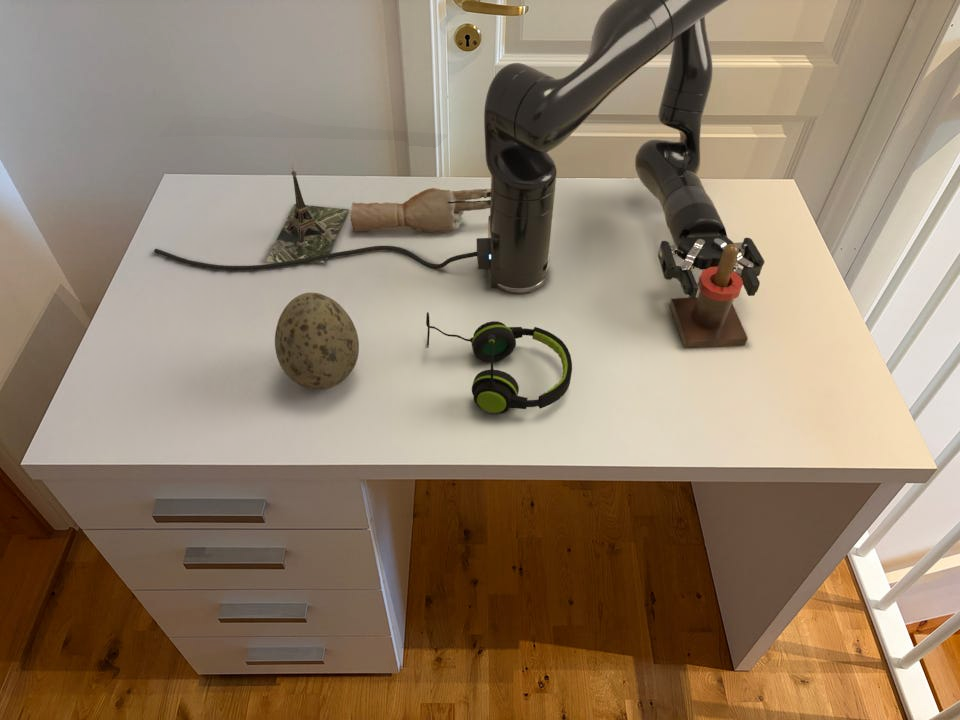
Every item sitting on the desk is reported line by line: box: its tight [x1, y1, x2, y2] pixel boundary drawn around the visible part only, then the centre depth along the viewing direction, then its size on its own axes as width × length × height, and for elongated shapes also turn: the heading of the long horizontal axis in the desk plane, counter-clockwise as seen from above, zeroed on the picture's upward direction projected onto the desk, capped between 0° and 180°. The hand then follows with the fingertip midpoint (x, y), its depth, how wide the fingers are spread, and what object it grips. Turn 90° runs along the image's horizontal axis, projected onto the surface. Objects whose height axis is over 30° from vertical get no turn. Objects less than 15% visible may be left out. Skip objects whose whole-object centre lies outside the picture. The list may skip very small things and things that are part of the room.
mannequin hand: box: [349, 187, 491, 233], centre depth 121 cm, size 7×7×25 cm
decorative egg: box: [274, 292, 360, 391], centre depth 95 cm, size 11×11×15 cm
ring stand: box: [669, 244, 749, 349], centre depth 103 cm, size 9×9×15 cm
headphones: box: [424, 311, 573, 415], centre depth 98 cm, size 16×10×20 cm
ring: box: [697, 267, 743, 301], centre depth 102 cm, size 6×6×1 cm
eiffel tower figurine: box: [265, 165, 350, 264], centre depth 117 cm, size 15×10×13 cm
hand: (724, 292), depth 101 cm, fingers open, 8 cm apart
